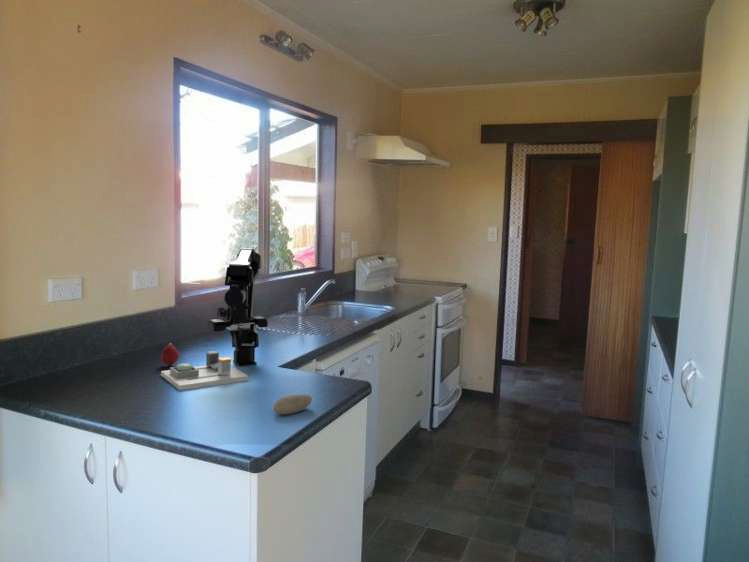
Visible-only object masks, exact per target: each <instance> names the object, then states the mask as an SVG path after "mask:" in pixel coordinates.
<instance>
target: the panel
mask: <svg viewBox="0 0 749 562" xmlns="http://www.w3.org/2000/svg"><path fill="white" fill-rule="evenodd" d="M169 367H170V368H169V369H168V370H167V369H166V370H161V371H160V376H161V377H162V378H164V380H166V381H167V382H168V383H170V384H171V385H172V386H173V387H175V389H177V390H178V391H185V390H191V389H198V388H199V389H200V388H205V387H212V386H219V385H227V384H234V383H240V382H241V383H242V382H247V381H248V382H249V376H248V375H247V374H245V373H244V372H242V371H240V370H238V369H237V368H235V367H234V366H232V365H231V371H230V375H223V376H221V375H220V374H218V368H217V369H213V368H209V367H207V366H206V365H201V366H200V365H199V366H194V365H192V370H189V371H182V372H179V371H177V366H169Z"/></svg>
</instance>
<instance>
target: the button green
mask: <svg viewBox="0 0 749 562" xmlns="http://www.w3.org/2000/svg"><path fill="white" fill-rule="evenodd" d="M192 366H193V365H192V364H191V363H179V364H177V365H176V367H177V371H179V372H182V371H189V370H192Z"/></svg>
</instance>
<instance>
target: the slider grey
mask: <svg viewBox="0 0 749 562" xmlns="http://www.w3.org/2000/svg"><path fill="white" fill-rule="evenodd" d="M205 354H206V355H205V356H206V358H205V359H206V363H205V364H206V365H205V366H207V367H209V368H212V367H211V366H210V364H213V363H216V362H218V358H220V357H219V355H220V352H219V351H217V350H209V351H206V352H205Z"/></svg>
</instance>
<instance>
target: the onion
mask: <svg viewBox="0 0 749 562" xmlns="http://www.w3.org/2000/svg"><path fill="white" fill-rule="evenodd" d="M179 357H180V353H179V351H178V349H177V348H176V347H175V346H173V343H172V342H170V343H168V345H167V346H166V347H164V348H163V349H162V351H161V354H160V359H161V361H162V363H164V364H165V365H167V366H168V367H173V365H174V364H175V363H176V362H178V359H179Z"/></svg>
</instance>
